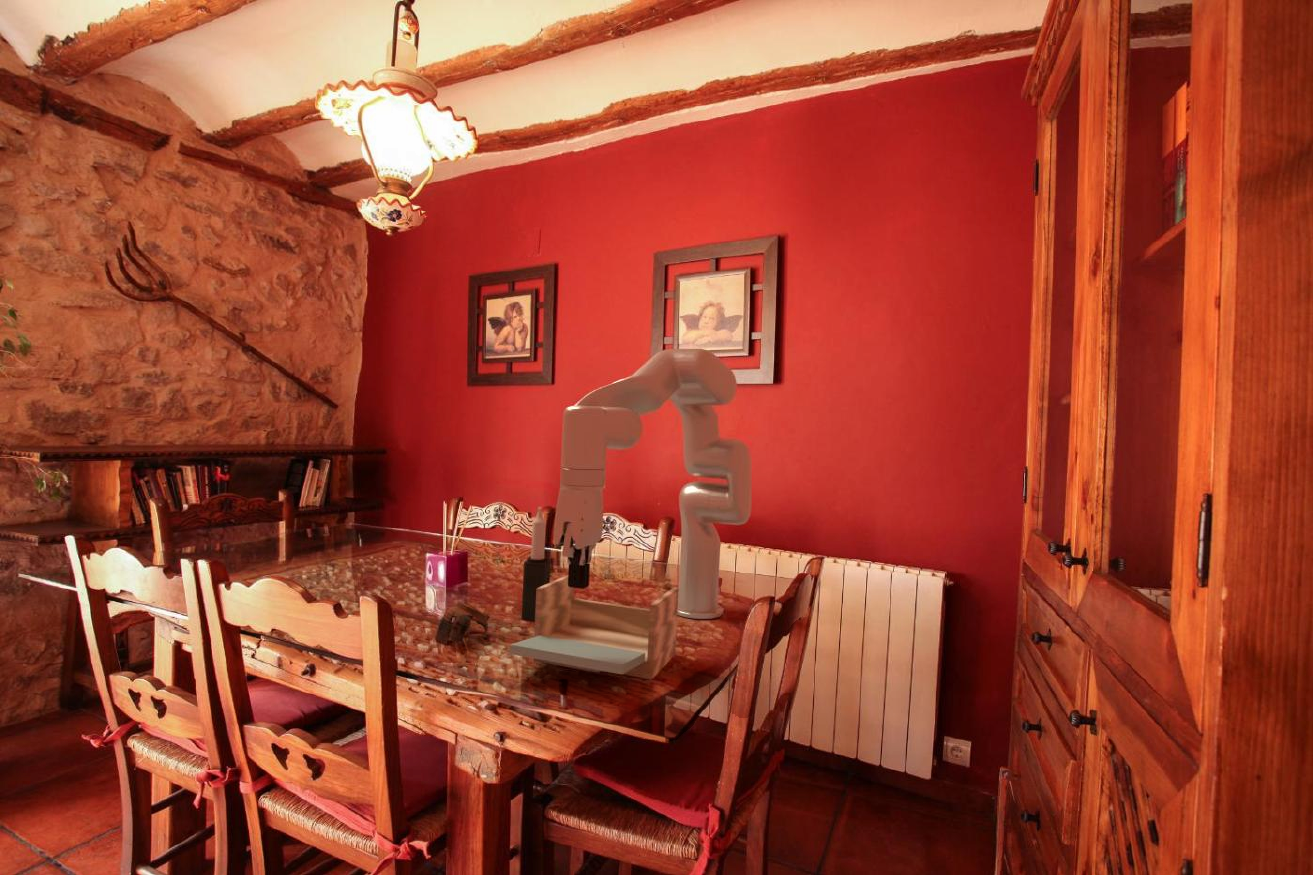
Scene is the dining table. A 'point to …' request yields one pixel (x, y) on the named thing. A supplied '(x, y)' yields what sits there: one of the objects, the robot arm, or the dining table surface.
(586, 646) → the panel
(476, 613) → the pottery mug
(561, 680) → the dining table surface
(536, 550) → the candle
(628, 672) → the wooden tray crate
